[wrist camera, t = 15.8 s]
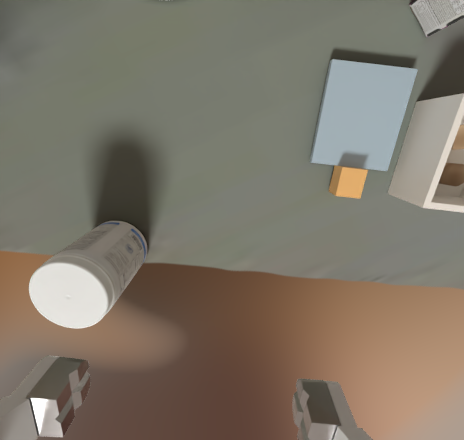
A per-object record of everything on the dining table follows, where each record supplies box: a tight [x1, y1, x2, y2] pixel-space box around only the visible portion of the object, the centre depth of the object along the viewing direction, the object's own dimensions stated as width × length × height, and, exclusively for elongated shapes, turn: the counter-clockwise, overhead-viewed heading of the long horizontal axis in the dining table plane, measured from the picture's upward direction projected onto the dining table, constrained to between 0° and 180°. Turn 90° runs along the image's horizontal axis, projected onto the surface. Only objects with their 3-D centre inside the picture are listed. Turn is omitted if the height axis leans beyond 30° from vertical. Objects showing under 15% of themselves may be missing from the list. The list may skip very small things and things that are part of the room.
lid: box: [310, 59, 418, 198], centre depth 35 cm, size 17×11×4 cm, turn 174°
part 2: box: [439, 163, 464, 186], centre depth 36 cm, size 3×3×3 cm
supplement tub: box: [29, 221, 147, 328], centre depth 37 cm, size 10×10×15 cm
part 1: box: [451, 125, 464, 150], centre depth 34 cm, size 3×3×3 cm
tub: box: [388, 93, 464, 212], centre depth 34 cm, size 13×11×8 cm
